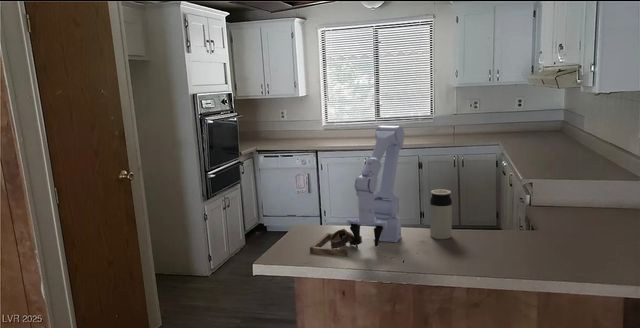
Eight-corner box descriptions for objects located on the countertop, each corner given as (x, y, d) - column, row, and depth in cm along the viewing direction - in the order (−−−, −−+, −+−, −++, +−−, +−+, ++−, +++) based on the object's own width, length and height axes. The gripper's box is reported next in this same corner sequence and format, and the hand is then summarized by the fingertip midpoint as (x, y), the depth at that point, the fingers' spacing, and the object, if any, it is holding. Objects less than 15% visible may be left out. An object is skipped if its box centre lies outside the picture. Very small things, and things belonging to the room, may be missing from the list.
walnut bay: (361, 240, 181) (361, 236, 181) (346, 256, 166) (346, 251, 165) (327, 237, 187) (327, 232, 187) (310, 252, 171) (309, 247, 171)
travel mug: (449, 240, 177) (450, 194, 174) (428, 238, 180) (428, 193, 177) (452, 234, 185) (453, 189, 182) (432, 232, 188) (432, 188, 185)
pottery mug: (361, 253, 170) (351, 236, 166) (338, 264, 171) (328, 248, 168) (357, 235, 181) (347, 219, 177) (335, 245, 182) (325, 230, 179)
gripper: (343, 210, 168) (345, 246, 170) (383, 212, 162) (383, 250, 165) (350, 205, 174) (351, 240, 177) (388, 207, 169) (388, 243, 171)
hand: (367, 244), depth 171 cm, fingers open, 6 cm apart
